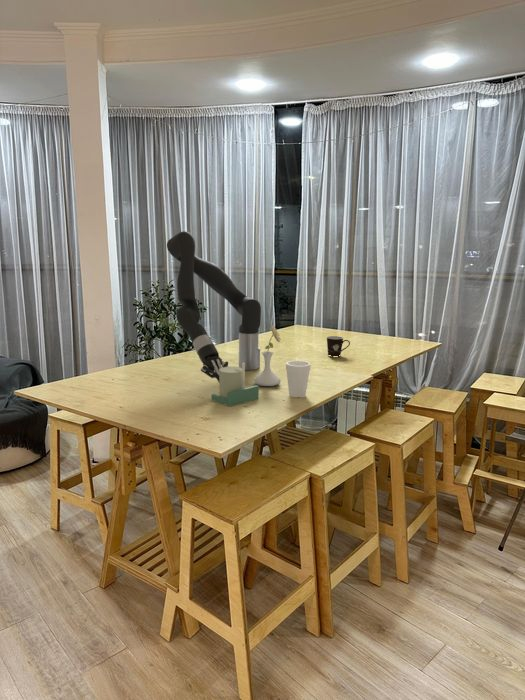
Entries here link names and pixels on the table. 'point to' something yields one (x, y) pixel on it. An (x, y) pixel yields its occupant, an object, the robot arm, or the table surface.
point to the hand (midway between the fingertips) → (224, 384)
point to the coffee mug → (335, 345)
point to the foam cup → (297, 377)
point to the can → (229, 380)
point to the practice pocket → (238, 393)
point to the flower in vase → (268, 365)
